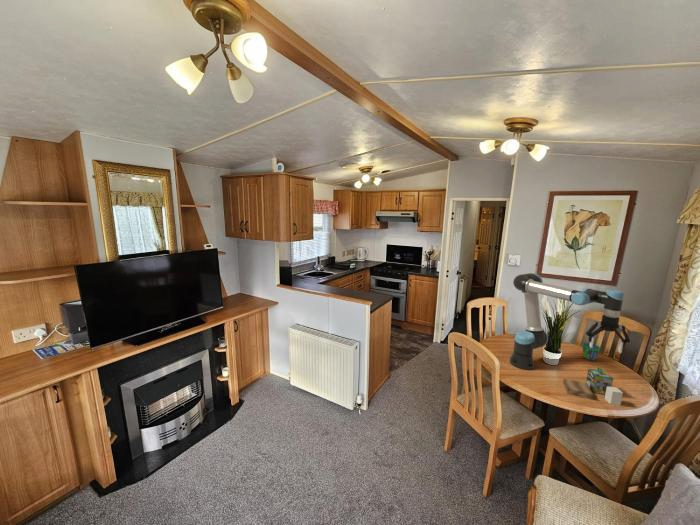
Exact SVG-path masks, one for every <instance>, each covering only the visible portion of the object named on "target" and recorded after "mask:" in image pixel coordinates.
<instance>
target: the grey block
mask: <svg viewBox="0 0 700 525" xmlns="http://www.w3.org/2000/svg"><path fill="white" fill-rule="evenodd" d="M623 394H624V392H623V391H622V390H620V389H619V388H618V387H614V386H612V387H608V386H607V388H606V394H604V395H605V396H604V400H605V401H606V402H608V403H609V405H613V406H614V405H615V406H621V404H622V400H623V399H622V398H623Z"/></svg>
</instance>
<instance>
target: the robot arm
mask: <svg viewBox="0 0 700 525" xmlns="http://www.w3.org/2000/svg"><path fill="white" fill-rule="evenodd" d="M512 282H513V286H514V288H515V289H516V290H517V291H521V293H522V294H523V296H524V305H525V314H526V315H525V316H526V324H527V325H526V327H525V330H519V331H517V332H516V333H515V336H514V341H513V342H514V346H513V352H512V354H511V355H510V357H509V363H511V364H510V365H511V366H513V367H515V368H517V369H521V370H528V371H529V370H530V371H531V370H533V369H534V367H535V363H534V359H533V353H534V350H536V349H539V348H542V347H544V346H546V345H547V343H548V342H549V335H548V333H547V332H545V328H543V327H542V322H541V311H540V310H541V309H540V301H539V295H543V296H548V297H551V298H555V299H559V300H563V301H566V302H571V303H573V304H574V305H577V306H585V305H588V304H593V303H596V304H600V305H603V311H602V315H601V322H599V321H594V322H593V324H592V325H591V326H590V328H588V330H586V332H585V335H586V336H588V343H590V345H589V346H590V347H591V348H592V347H593V344H594V342H595V341H594V339H595V338H594V337H595V336H596V335H598V334H599V333H602V332H604V331H605V332H611V333H612V332H614V333H615V334H616V335H617V337H618V338H619V339H620V340H619V342H618V348H617V352H619V354H622V352H623V348H625V346H626V344H627V343H630V342H631V339H630V337H629V336H628V333H627V331H626V326H625V325H623V324H620V325H619V322H620V317H621V311H622V306H623V303H624V294H625V293H624V292H623V291H622V290H618V289H606V291H602V290H598V289H597V290H596V289H592V288H588V287H587V288H586V287H585V288H582V289H581V290H576V289H572V288H567V287H563V286H560V285H559V286H558V285H554V284H549V283H546V282H545V283H544V282H543V279H542V277H541V276H540V275H539V274H537V273H535V272H533V273H523V274H518V275H516V276H515V277H514V279H513V281H512ZM618 329H620V331H621V333H622V334H623V336H624V337H623V336H622V335H621V333H620V332H619V331H618Z"/></svg>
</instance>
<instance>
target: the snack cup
mask: <svg viewBox="0 0 700 525" xmlns="http://www.w3.org/2000/svg"><path fill="white" fill-rule="evenodd" d="M589 345H590V342H583V343H581V346H582V357H583V358H584V359H585V360H588V361H593V362H594V361H596V359H597V358H598V355H599V353H600V351H601V347H600V346H599V345H597V344H595V343H593V347H592V348H591V347H590V346H589Z"/></svg>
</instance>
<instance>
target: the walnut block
mask: <svg viewBox="0 0 700 525" xmlns="http://www.w3.org/2000/svg"><path fill="white" fill-rule="evenodd" d="M562 385H563V386H564V390H565V392H566V394H567V395H571V396H574V397H579V398H583V399H588V400H591V401H592V400H593V397H594V393H593V392H592V391H591V389H590V388H589V386H588V384H587V383H586V382H582V381H577V380H573V379H572V380H571V379H568V378H563V381H562Z"/></svg>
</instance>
